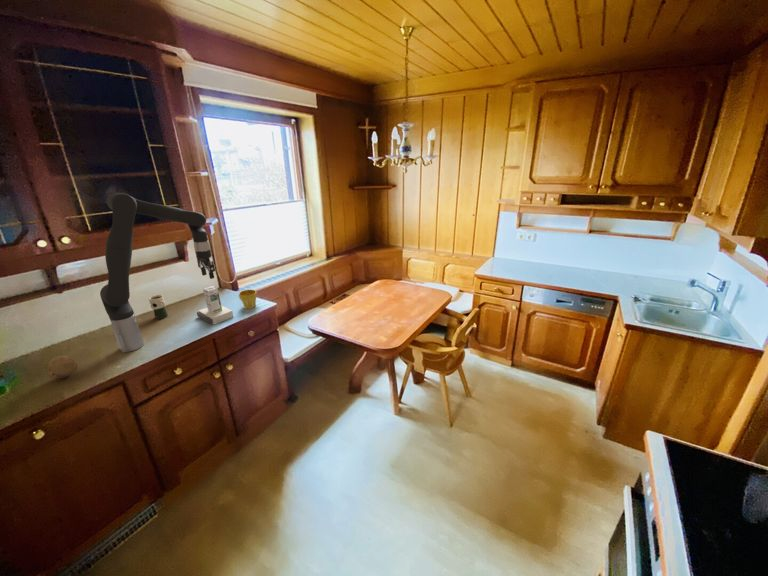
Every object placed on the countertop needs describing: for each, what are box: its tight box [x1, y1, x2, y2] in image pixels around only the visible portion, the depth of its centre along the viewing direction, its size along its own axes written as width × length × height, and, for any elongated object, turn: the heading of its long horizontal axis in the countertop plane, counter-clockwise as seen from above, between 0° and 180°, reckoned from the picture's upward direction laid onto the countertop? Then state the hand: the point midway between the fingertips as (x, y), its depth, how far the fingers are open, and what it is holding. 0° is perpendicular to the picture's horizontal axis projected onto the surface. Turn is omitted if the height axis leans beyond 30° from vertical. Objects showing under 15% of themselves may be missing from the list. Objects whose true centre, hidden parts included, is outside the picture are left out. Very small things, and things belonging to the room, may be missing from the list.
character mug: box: [148, 294, 168, 320], centre depth 184 cm, size 11×7×13 cm, turn 68°
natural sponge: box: [46, 355, 79, 379], centre depth 134 cm, size 9×9×10 cm
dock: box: [196, 304, 234, 325], centre depth 187 cm, size 13×16×4 cm
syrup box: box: [203, 285, 222, 313], centre depth 184 cm, size 6×6×14 cm
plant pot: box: [238, 289, 258, 309], centre depth 200 cm, size 10×10×10 cm
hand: (208, 276), depth 179 cm, fingers open, 8 cm apart
